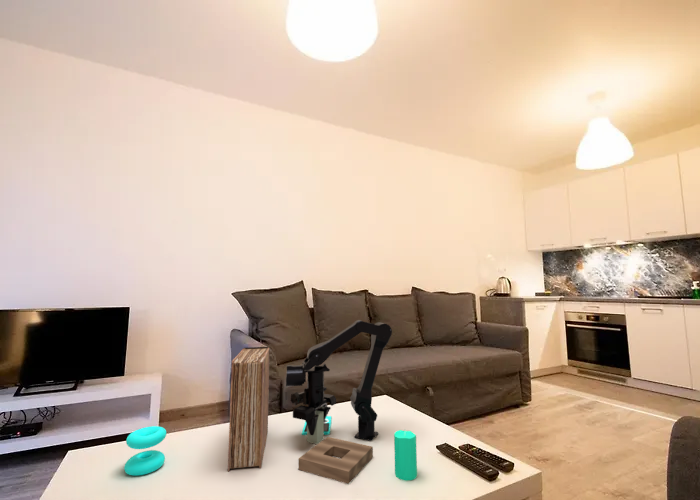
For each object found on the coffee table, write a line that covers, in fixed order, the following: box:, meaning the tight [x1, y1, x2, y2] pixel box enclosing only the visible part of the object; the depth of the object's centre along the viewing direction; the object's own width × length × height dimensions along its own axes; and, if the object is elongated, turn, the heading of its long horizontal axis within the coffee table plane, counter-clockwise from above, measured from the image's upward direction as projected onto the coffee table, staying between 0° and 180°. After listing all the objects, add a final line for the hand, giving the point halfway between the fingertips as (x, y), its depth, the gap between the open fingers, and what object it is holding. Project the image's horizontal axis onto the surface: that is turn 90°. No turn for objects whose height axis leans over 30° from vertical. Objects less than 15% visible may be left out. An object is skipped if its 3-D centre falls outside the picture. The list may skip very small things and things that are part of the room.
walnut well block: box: [298, 436, 374, 485], centre depth 99 cm, size 16×16×3 cm
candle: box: [393, 429, 418, 482], centre depth 93 cm, size 6×6×12 cm
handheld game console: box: [301, 415, 332, 436], centre depth 126 cm, size 10×16×1 cm, turn 1°
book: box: [227, 346, 270, 472], centre depth 109 cm, size 25×9×30 cm, turn 9°
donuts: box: [123, 425, 167, 476], centre depth 97 cm, size 10×10×10 cm
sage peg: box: [306, 410, 325, 445], centre depth 114 cm, size 4×4×9 cm
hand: (315, 432), depth 114 cm, fingers closed on sage peg, 4 cm apart
